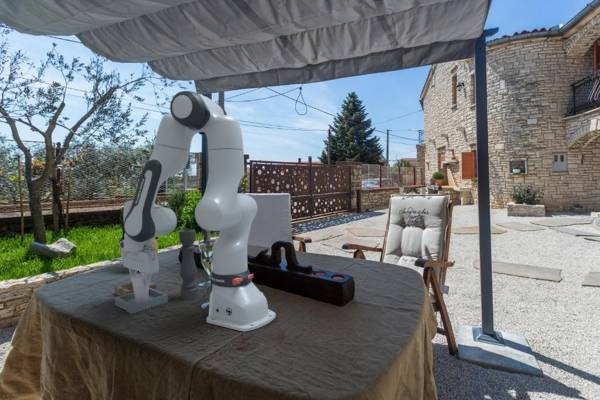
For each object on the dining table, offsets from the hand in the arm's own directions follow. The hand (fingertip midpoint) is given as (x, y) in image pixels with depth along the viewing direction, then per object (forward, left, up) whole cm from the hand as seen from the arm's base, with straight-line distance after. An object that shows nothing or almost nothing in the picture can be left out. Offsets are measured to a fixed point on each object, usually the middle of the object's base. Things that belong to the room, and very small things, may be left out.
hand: (140, 282), depth 114 cm
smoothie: (-1, 0, -7) cm, 7 cm away
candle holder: (-8, -14, -8) cm, 18 cm away
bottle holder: (+13, -4, -8) cm, 16 cm away
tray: (0, 0, -8) cm, 8 cm away
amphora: (+45, -21, -8) cm, 50 cm away
